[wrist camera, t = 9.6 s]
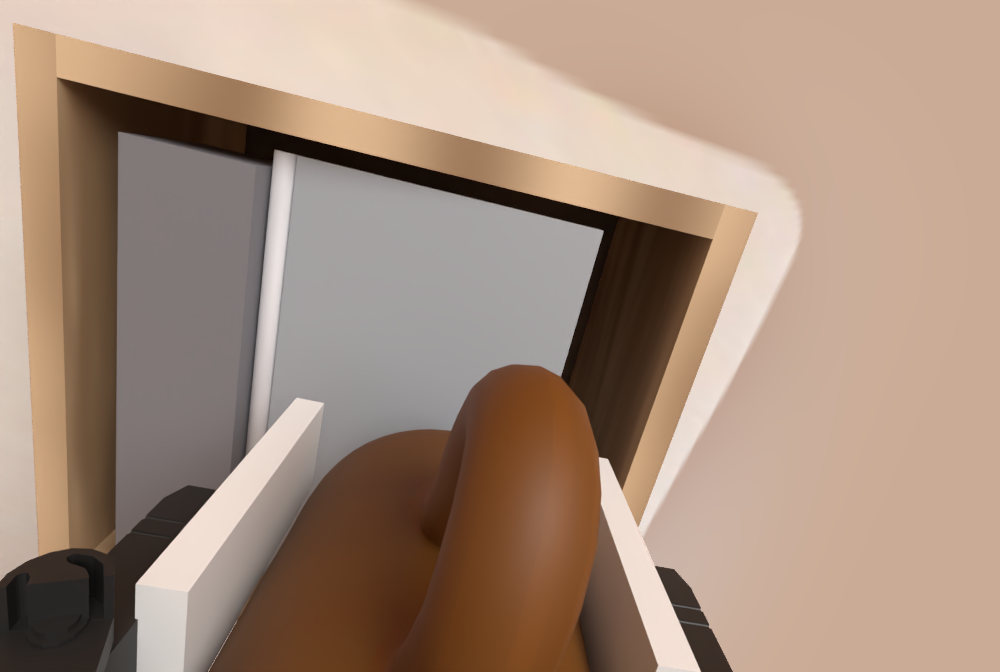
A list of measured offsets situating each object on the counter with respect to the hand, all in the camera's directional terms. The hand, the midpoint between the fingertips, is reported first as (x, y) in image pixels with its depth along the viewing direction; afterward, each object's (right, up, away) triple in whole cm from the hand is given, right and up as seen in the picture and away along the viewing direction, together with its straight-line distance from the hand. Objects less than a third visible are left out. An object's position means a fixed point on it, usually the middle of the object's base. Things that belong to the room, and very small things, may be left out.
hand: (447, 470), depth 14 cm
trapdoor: (-4, +2, +5) cm, 7 cm away
